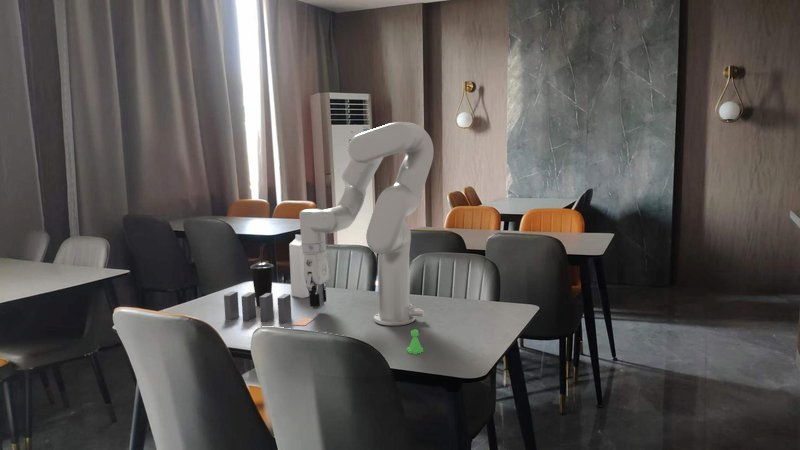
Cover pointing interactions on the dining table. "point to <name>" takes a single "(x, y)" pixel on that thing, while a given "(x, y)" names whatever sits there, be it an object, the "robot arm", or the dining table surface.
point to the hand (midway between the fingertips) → (318, 303)
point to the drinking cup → (262, 278)
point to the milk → (297, 269)
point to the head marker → (303, 321)
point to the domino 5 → (320, 292)
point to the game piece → (415, 343)
